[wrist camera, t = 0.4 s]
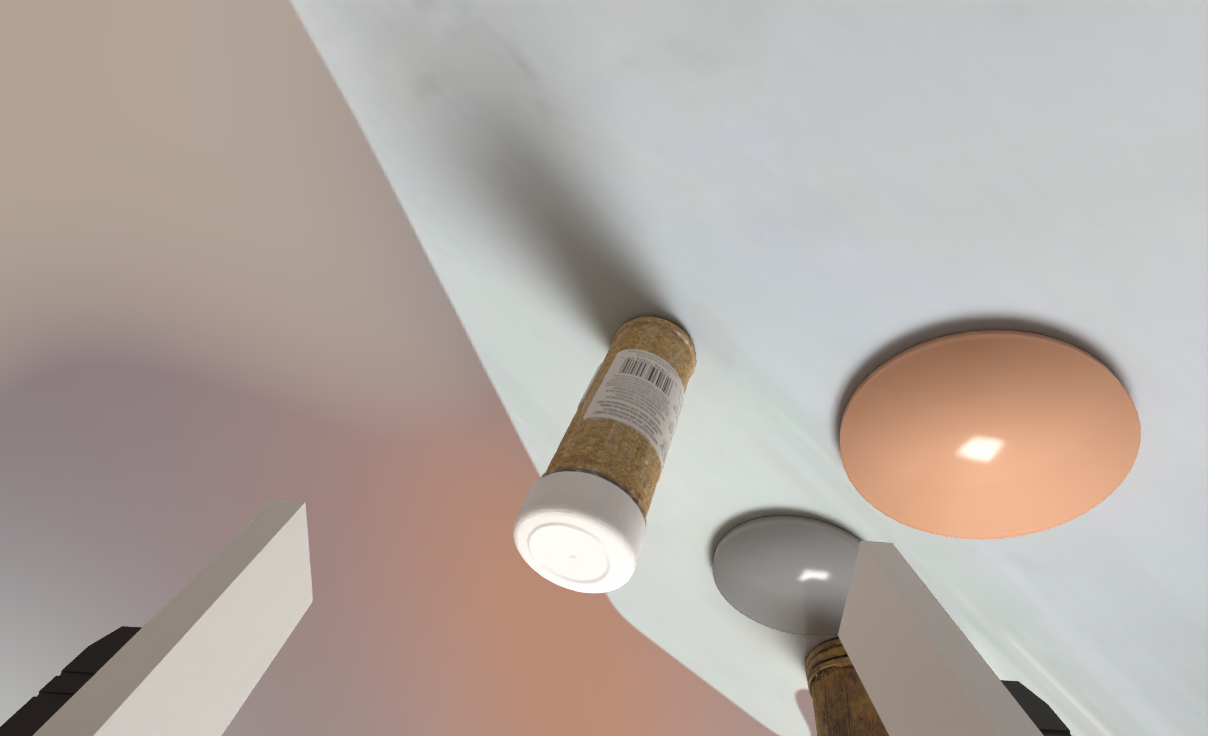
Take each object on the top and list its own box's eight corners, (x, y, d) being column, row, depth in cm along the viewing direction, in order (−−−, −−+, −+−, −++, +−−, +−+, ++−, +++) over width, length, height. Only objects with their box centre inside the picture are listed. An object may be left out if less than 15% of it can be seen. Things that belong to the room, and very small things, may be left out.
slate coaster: (774, 489, 34) (773, 499, 34) (923, 576, 35) (925, 587, 34) (686, 570, 41) (683, 580, 40) (813, 643, 41) (813, 654, 40)
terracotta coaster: (967, 279, 25) (971, 288, 24) (1207, 425, 26) (1217, 437, 25) (791, 449, 32) (790, 459, 32) (979, 560, 33) (982, 572, 32)
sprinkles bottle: (596, 348, 33) (486, 542, 22) (650, 295, 30) (553, 488, 19) (660, 401, 33) (583, 613, 23) (718, 354, 31) (661, 571, 20)
